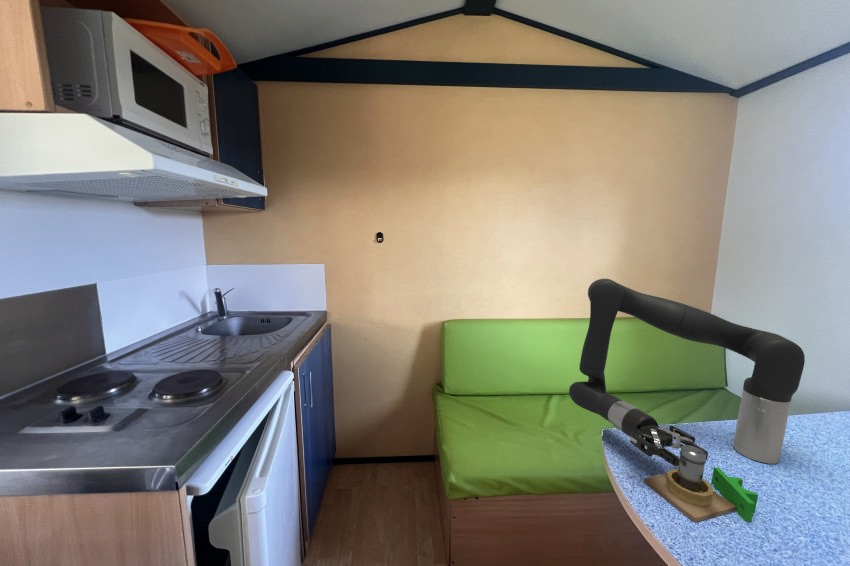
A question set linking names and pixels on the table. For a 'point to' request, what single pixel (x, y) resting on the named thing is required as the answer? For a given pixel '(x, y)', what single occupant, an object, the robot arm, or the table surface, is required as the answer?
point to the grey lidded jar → (691, 468)
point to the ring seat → (690, 497)
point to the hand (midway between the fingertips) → (692, 459)
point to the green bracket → (735, 493)
